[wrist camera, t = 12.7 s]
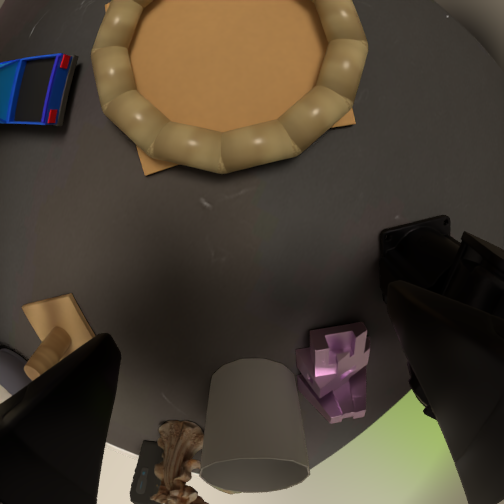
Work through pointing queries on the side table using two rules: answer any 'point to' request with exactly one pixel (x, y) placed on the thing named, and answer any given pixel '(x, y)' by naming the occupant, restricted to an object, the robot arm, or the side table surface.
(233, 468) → the cup
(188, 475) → the figurine
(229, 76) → the mat
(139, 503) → the walkie-talkie
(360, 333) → the purple jagged faceted chunk
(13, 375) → the bowl
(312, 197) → the side table surface
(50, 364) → the ring toss peg
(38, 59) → the toy car
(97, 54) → the segmented tan ring
